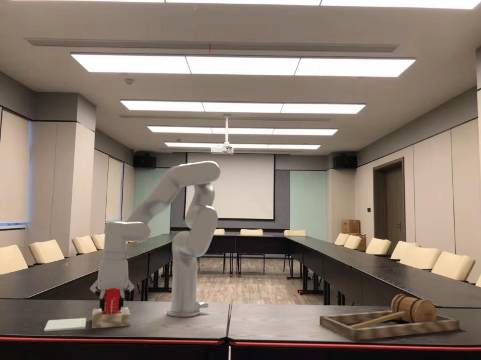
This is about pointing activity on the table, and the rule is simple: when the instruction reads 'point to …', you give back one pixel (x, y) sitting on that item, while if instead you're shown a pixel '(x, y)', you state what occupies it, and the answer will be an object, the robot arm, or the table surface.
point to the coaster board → (65, 324)
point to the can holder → (110, 318)
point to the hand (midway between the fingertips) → (111, 309)
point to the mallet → (406, 311)
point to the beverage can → (111, 301)
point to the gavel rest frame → (338, 326)
